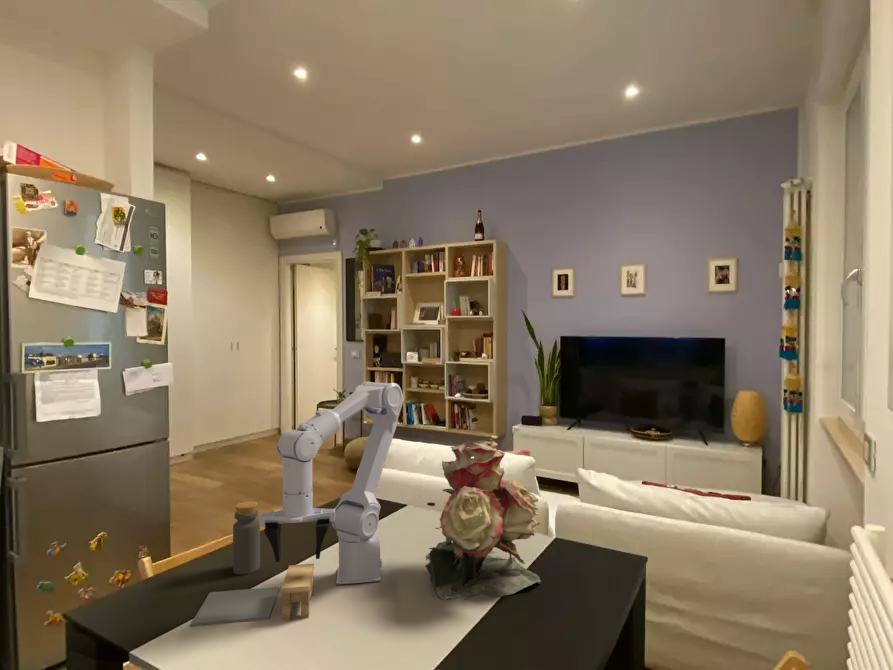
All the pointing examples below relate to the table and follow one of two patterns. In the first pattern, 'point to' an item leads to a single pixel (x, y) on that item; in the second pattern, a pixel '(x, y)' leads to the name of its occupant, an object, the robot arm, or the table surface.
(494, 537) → the rose bouquet
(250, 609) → the grey mat
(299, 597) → the oak stool
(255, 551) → the bottle
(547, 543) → the table surface
